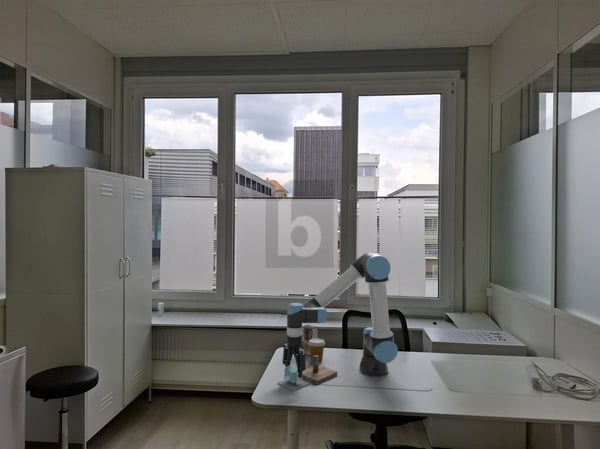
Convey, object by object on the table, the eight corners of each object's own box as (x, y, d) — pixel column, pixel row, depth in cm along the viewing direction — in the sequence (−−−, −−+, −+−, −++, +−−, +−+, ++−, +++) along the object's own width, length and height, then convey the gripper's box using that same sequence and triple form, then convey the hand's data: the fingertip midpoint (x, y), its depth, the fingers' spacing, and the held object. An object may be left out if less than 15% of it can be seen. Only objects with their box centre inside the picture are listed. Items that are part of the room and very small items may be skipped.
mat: (309, 384, 194) (309, 383, 194) (293, 391, 186) (293, 389, 186) (293, 377, 202) (293, 376, 202) (277, 383, 194) (277, 382, 194)
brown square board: (337, 375, 205) (337, 356, 205) (316, 384, 194) (316, 364, 194) (314, 366, 217) (314, 348, 216) (293, 374, 205) (294, 355, 205)
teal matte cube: (302, 379, 194) (302, 369, 194) (291, 383, 189) (292, 373, 189) (293, 375, 198) (293, 365, 198) (282, 379, 193) (283, 369, 193)
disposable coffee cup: (325, 358, 229) (325, 338, 229) (324, 364, 220) (324, 343, 220) (308, 358, 230) (309, 337, 230) (307, 364, 221) (307, 342, 221)
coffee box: (318, 353, 238) (319, 327, 238) (312, 356, 233) (312, 329, 233) (307, 350, 244) (307, 324, 244) (300, 352, 239) (300, 326, 239)
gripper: (314, 338, 189) (313, 385, 190) (286, 329, 203) (285, 373, 203) (303, 341, 184) (302, 390, 184) (275, 332, 198) (274, 377, 198)
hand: (293, 381), depth 194 cm, fingers closed on teal matte cube, 6 cm apart
